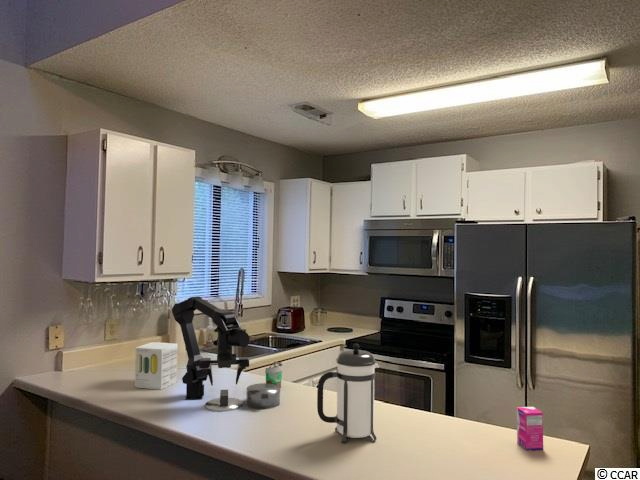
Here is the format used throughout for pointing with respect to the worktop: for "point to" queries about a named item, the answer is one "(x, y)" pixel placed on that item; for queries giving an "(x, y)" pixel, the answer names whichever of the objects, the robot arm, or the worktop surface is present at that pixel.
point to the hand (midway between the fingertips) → (224, 384)
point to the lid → (224, 403)
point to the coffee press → (352, 394)
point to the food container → (274, 374)
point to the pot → (263, 396)
